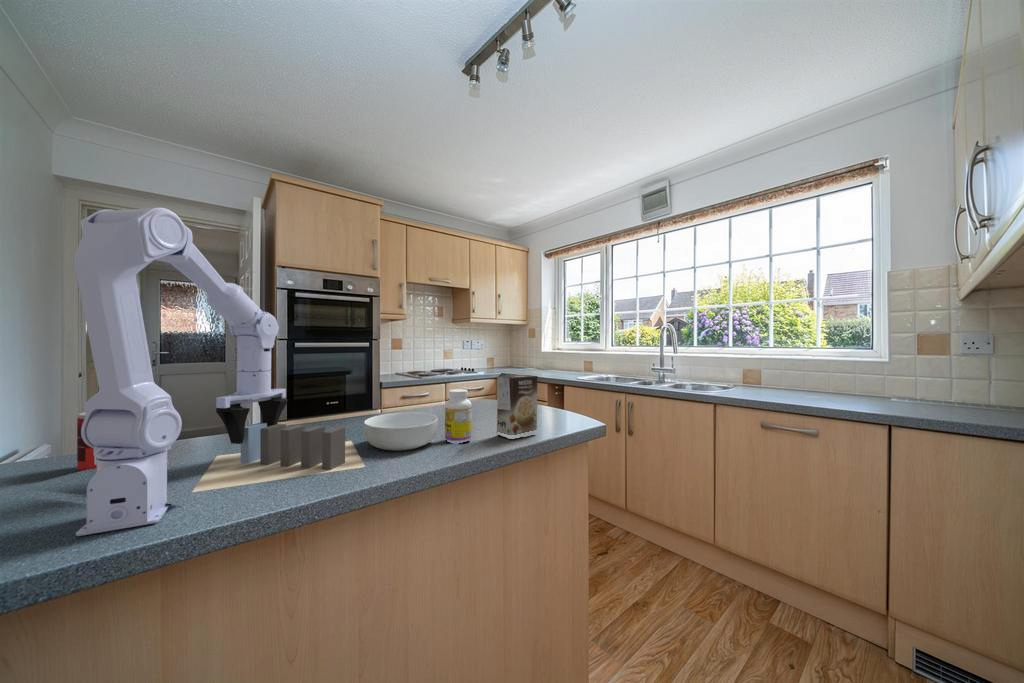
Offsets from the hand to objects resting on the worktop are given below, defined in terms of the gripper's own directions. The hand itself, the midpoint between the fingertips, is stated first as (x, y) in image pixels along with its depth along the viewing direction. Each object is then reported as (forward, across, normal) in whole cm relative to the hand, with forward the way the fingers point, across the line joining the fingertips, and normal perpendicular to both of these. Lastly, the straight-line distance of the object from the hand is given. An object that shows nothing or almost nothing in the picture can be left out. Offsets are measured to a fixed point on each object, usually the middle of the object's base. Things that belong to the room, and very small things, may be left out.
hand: (253, 438), depth 77 cm
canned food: (+6, +7, -27) cm, 28 cm away
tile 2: (+4, 0, +4) cm, 6 cm away
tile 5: (+4, 0, +18) cm, 19 cm away
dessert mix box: (+5, -35, +48) cm, 59 cm away
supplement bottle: (+6, -26, +34) cm, 43 cm away
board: (+5, -1, +7) cm, 9 cm away
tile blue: (+4, 0, 0) cm, 4 cm away
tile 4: (+4, 0, +14) cm, 14 cm away
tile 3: (+4, 0, +9) cm, 10 cm away
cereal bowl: (+6, -17, +24) cm, 30 cm away
